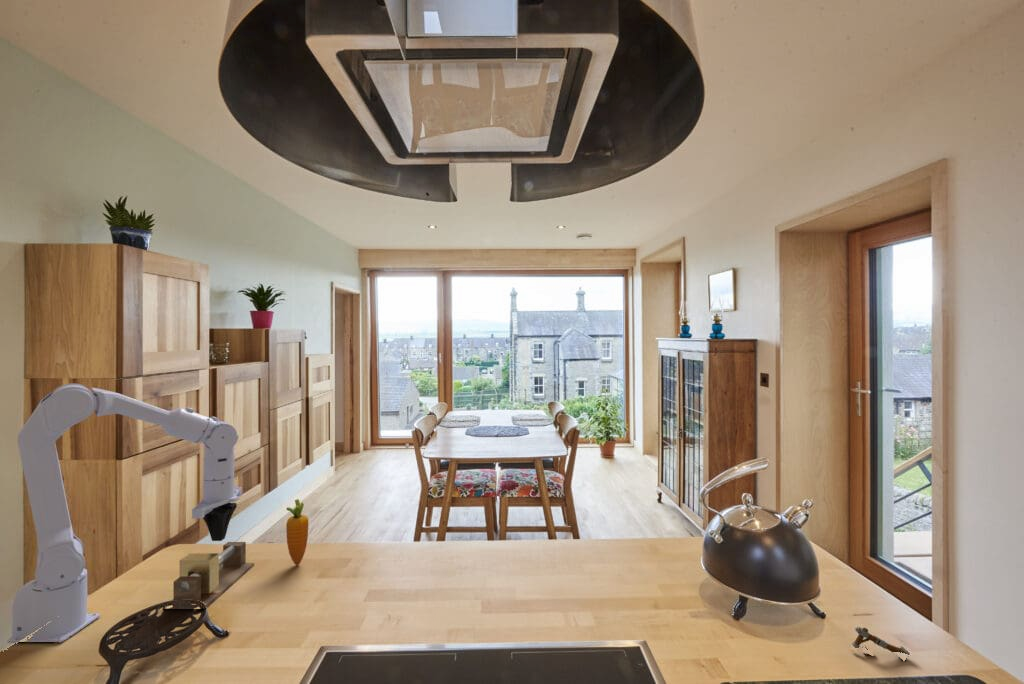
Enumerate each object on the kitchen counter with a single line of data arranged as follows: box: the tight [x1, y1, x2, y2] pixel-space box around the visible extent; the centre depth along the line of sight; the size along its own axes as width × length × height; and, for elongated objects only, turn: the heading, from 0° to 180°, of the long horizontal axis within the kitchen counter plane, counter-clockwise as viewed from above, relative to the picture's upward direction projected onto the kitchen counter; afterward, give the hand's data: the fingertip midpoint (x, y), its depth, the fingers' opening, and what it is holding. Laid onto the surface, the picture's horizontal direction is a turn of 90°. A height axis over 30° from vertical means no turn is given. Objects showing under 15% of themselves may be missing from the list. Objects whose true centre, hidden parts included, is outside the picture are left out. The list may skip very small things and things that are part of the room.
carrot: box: [285, 499, 309, 566], centre depth 109 cm, size 5×5×15 cm
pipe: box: [179, 546, 236, 592], centre depth 99 cm, size 18×2×2 cm, turn 1°
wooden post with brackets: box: [851, 626, 911, 656], centre depth 78 cm, size 2×8×4 cm, turn 80°
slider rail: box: [170, 541, 255, 608], centre depth 99 cm, size 18×8×6 cm, turn 1°
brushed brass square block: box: [178, 552, 220, 594], centre depth 95 cm, size 3×6×7 cm, turn 91°
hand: (218, 539), depth 101 cm, fingers closed
